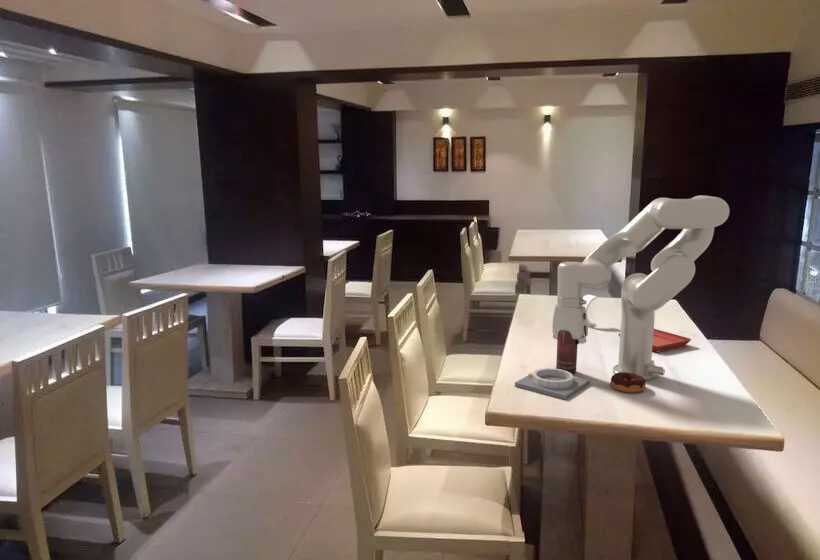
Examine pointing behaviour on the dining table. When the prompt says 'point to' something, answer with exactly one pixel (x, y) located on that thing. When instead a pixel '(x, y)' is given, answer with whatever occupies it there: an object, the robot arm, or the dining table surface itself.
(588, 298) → the white curved piece
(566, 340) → the can
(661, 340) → the plant saucer
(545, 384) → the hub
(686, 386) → the dining table surface
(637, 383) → the donut
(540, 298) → the dining table surface
